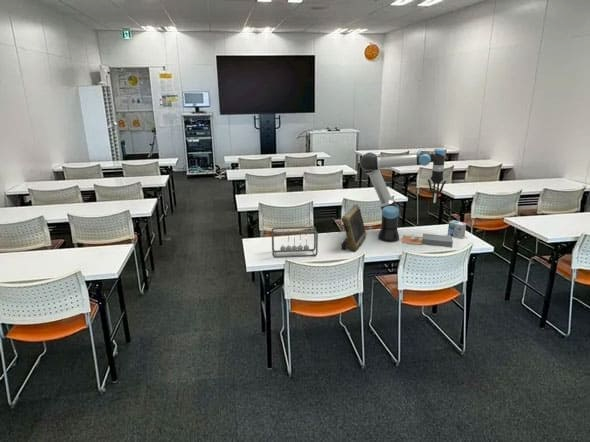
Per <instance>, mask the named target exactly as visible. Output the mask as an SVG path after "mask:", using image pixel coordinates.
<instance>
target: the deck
mask: <svg viewBox="0 0 590 442" xmlns="http://www.w3.org/2000/svg"><path fill="white" fill-rule="evenodd" d="M422 237H423V239H422V245H426V246H437V247H445V248H453V242H454V241H453V237H452V236H449V235H442V234H432V233H422Z"/></svg>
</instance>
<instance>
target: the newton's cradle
mask: <svg viewBox="0 0 590 442" xmlns="http://www.w3.org/2000/svg"><path fill="white" fill-rule="evenodd" d="M301 229H302V230H301ZM303 229H304V230H303ZM307 229H312V230H307ZM276 230H277V231H276ZM278 230H288V231H278ZM289 230H290V231H289ZM292 230H293V231H292ZM312 233H313V248H311V249H310V246H309V245H308V243H307V242H308V241H307V240H305V245H301V244H298V245H295V244H296V243H295V242H296V238H293V239H294V240H293V241H294V243H293V244H294V245H292V246H291V245H287V246H285V245H281V246H280V250H275V237H274V235H281V234H282V235H285V234H288V236H287V237H288V241H290V234H299V239H301V237H302V236H301V235H302V234H312ZM318 244H319V233H318V231H317V228H316V227H315V226H313V225H312V226H284V227H283V226H282V227H272V228H271V252H272V256H273V258H277V259H278V258H298V257H299V258H302V257H304V258H305V257H316V256H317V255H318V252H319V249H318V248H319V247H318V246H319V245H318ZM314 251H315V252H314ZM287 252H288V253H290V252H312V254H296V255H291V254H290V255H289V254H288V255H277V253H287Z"/></svg>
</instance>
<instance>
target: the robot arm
mask: <svg viewBox="0 0 590 442" xmlns="http://www.w3.org/2000/svg"><path fill="white" fill-rule="evenodd" d="M445 161H446V149H445V148H442V147H441V148H438V147H437V148H434V150H433V151H432V150H431V151H430V150H417V151H416V154H405V155H395V156H383V157H379V156H377V154H375V153H373V152H366V153H365V154H363V155H362V157H361V158H360V160H359V166H360V168H361V169H362V171H364V172H365V174H366V175H368V176H369V178H370V181H371V183H372V185H373V187H374V190H375V192H376V195H377V197H378V199H379V201H380V206H379V207H380V210H381V226H380V230H379V232H378V235H377V238H378V240H380V241H382V242H387V243H393V242H397V241H400V234H399V230H398V228H399V227H398V226H399V225H398V224H399V216H400V215H399V214H400V208H399V205H398V204H397V202H396V200H395V199H393V198H392V196H391V194H390V191H389V188H388V187H387V184H386V181H385V180H384V177H383V175H382V172H381V170H380V169H387V168H400V167H412V166H413V167H414V166H423V167H425V166H428V165H430V164H431V163H432V171H431V177H430V178H428V179H427V182H428V186H429V187H428V188H429V193H431V194H432V195H431V197H432V199H433V202H432V203H433V204H436V202H437V199H438V198H439V194H441V193H442V191H443V189H444V186H445V184H446V183H447V180H446V179H444V169H445ZM431 182H432V183H433V186H432V183H431ZM441 182H442V184H441ZM440 184H441V185H440ZM439 188H440V189H439ZM435 191H436V193H435Z"/></svg>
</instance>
